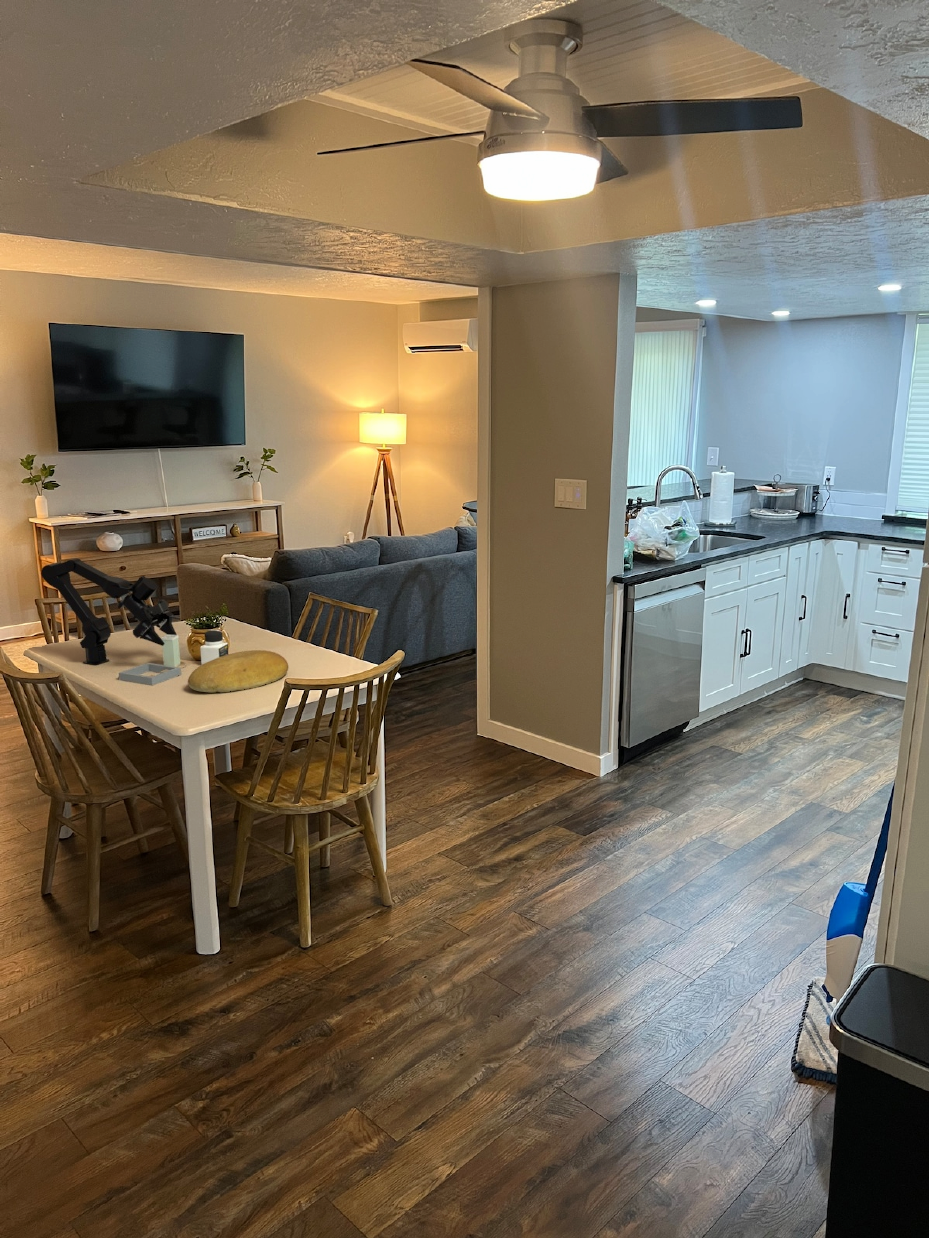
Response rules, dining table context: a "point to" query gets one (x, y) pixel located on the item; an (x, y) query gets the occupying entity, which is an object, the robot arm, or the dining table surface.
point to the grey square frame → (134, 676)
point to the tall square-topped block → (171, 650)
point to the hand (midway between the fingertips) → (170, 641)
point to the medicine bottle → (213, 646)
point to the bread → (238, 671)
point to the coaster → (178, 665)
